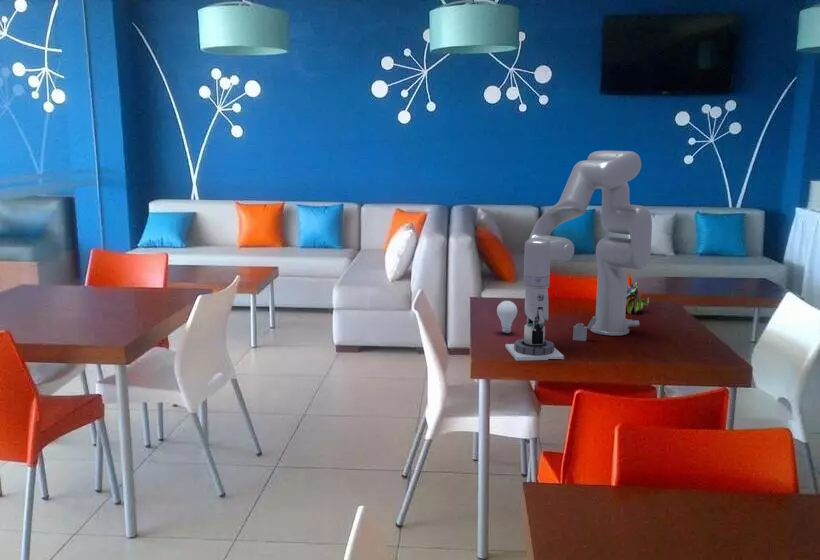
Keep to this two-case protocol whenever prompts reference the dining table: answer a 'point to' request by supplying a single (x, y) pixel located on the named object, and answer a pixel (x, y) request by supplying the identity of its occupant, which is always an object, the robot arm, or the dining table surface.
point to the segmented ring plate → (533, 351)
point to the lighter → (582, 330)
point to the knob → (528, 334)
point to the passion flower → (634, 299)
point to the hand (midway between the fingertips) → (534, 340)
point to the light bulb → (506, 315)
